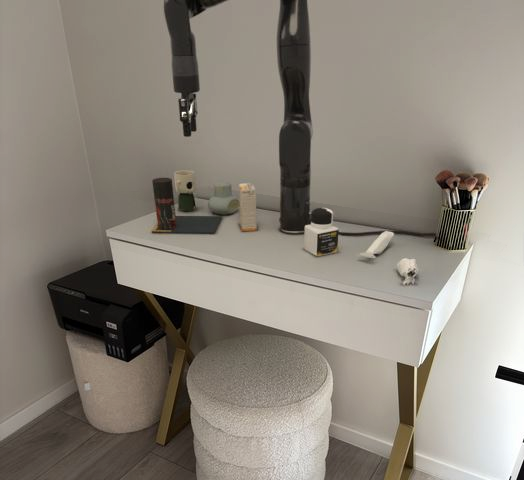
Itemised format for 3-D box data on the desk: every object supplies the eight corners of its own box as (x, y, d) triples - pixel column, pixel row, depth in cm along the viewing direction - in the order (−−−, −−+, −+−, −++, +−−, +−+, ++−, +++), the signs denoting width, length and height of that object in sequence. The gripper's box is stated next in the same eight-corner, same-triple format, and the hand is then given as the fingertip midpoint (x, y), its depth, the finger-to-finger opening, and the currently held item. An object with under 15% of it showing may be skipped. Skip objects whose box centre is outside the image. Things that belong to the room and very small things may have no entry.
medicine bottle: (316, 257, 150) (318, 215, 143) (303, 249, 155) (304, 208, 149) (337, 252, 153) (340, 211, 146) (324, 244, 158) (326, 204, 152)
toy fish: (396, 244, 157) (398, 231, 155) (374, 265, 144) (375, 251, 142) (379, 241, 160) (380, 228, 157) (355, 261, 147) (356, 248, 145)
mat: (221, 217, 181) (221, 215, 180) (214, 234, 167) (214, 231, 167) (164, 217, 182) (163, 215, 182) (152, 233, 169) (151, 231, 168)
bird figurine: (422, 288, 134) (413, 264, 141) (423, 267, 130) (413, 243, 137) (403, 291, 135) (394, 267, 142) (402, 271, 130) (394, 247, 137)
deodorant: (175, 230, 169) (170, 182, 161) (156, 230, 169) (150, 182, 161) (178, 224, 174) (173, 177, 166) (159, 224, 174) (154, 177, 166)
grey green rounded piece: (224, 218, 180) (222, 188, 175) (205, 214, 184) (203, 185, 179) (242, 210, 188) (241, 181, 183) (224, 206, 192) (222, 178, 186)
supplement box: (257, 230, 169) (256, 189, 162) (242, 231, 169) (240, 190, 162) (254, 222, 176) (253, 182, 169) (239, 223, 176) (238, 183, 169)
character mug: (188, 215, 183) (184, 177, 177) (170, 213, 186) (166, 175, 179) (203, 206, 192) (201, 169, 185) (186, 204, 194) (183, 168, 188)
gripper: (193, 75, 146) (198, 138, 154) (202, 71, 158) (206, 129, 166) (166, 76, 146) (173, 138, 155) (177, 71, 158) (183, 129, 167)
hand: (190, 133), depth 161 cm, fingers open, 8 cm apart
